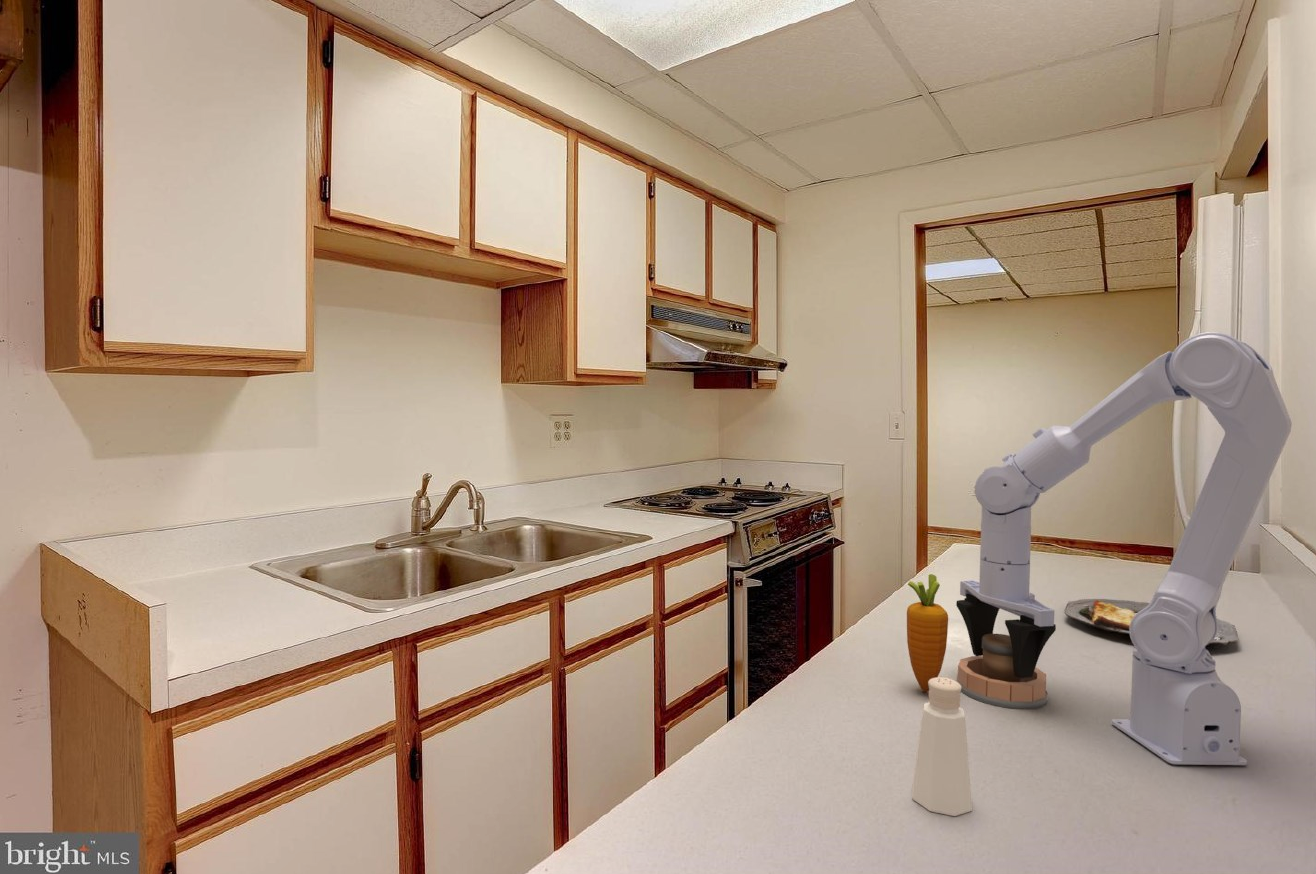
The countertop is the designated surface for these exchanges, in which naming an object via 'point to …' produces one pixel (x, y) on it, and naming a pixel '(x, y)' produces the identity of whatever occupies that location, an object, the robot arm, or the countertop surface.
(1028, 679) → the coaster
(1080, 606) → the food plate
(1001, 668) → the walnut pepper mill
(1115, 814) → the countertop surface
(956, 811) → the salt shaker
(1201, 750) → the robot arm
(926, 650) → the carrot
